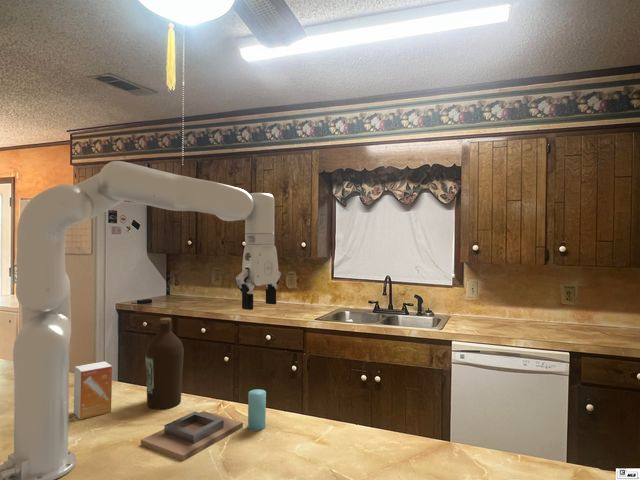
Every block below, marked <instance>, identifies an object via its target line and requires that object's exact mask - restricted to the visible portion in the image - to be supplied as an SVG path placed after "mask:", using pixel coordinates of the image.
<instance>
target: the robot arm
mask: <svg viewBox="0 0 640 480" xmlns="http://www.w3.org/2000/svg"><path fill="white" fill-rule="evenodd" d="M125 201H126V202H130V203H135V204H141V205H145V206H150V207H154V208H159V209H163V210H166V211H167V210H169V211H174V212H175V211H176V212H197V213H198V212H199V213H204V214H209V215H215V216H216V217H217V218H218V219H220V220H222V221H223V222H225V221H226V222H235V221H243V220H244V221H245V222H244V226H245V230H244V231H245V232H244V233H245V234H244V242H245V243H244V245H245V246H244V248H243V255H242V265H241V269H242V270H241V272H240V273H239V274H238V275H237V276H235V281H236V284H237V288H238V290H239V292H240V294H241V308H242V310H247V311H251V310H254V293H253V290H254V288H255V286H257V287H259V286H266V288H265V304H266V305H274V306H275V305H277V290H278V289H279V283H280V278H281V276H282V272H281V271H279V262H278V259H279V258H278V252H277V247H276V245H275V197H274V196H273V194H272V193H266V192H252V193H249V192H248V191H246V190H245V189H242V188H240V187H235V186H234V185H233V186H232V185H228V184H224V183H220V182H217V181H212V180H211V181H210V180H206V179H202V178H201V179H200V178H195V177H190V176H185V175H180V174H175V173H171V172H167V171H165V170H164V171H163V170H160V169H155V168H151V167H147V166H143V165H139V164H136V163H131V162H127V161H121V160H114V161H110V162H108V163H107V164H105V165H103V167H102V168H101V170H100V172H97V174H94V175H93V176H91V177H88V178H86V179H85V180H83V181H81V182H79V183H76V184H69V183H68V184H67V183H66V184H57V185H54V186H51V187H48V188H46V189H44V190H42V191H41V192H39V193H37V194H36V195H35V196H33V197H32V198H31V199H30V200H29V202H27V204H26V205H25V207H24V208H23V209H22V212H21V213H20V215H19V219H18V222H17V228H16V257H15V258H16V259H15V260H16V269H15V270H16V277H15V278H16V280H15V281H16V284H15V297H16V300H17V301H18V303H19V304H20V306H21V326H22V327H21V329H20V330H19V331H18V333H17V335H16V337H15V340H14V343H13V347H12V348H13V349H12V362H13V363H12V364H13V373H14V374H13V376H14V377H13V379H14V383H13V385H14V388H13V389H14V392H13V393H14V399H13V400H14V404H13V405H14V406H13V407H14V408H13V409H14V412H13V414H14V415H13V416H14V418H13V420H14V421H13V425H14V426H13V453H10V454H8V455H7V460H6V461H3V462H2V464H0V480H57V479H58V478H61V477H63V476H65V475H66V474H67V473H69V472H70V471H71V470H73V469H74V467H75V466H76V464H77V456H76V454H75V452H74V453H73V451H69V407H70V404H69V399H70V389H69V388H70V386H69V385H70V382H69V381H70V379H69V378H70V346H71V344H70V343H71V336H72V308H71V305H72V302H71V299H72V298H71V281H70V278H69V275H68V274H67V271H66V234H67V232H68V229H69V228H70V227H77V226H80V225H82V224H84V223H87V221H90V220H92V219H94V218H96V217H97V216H100V215H101V214H103V213H105V212H107V211H109V210H111V209H112V208H114V207H117V206H118V205H119V204H122V203H123V202H125Z"/></svg>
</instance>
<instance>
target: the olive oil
mask: <svg viewBox="0 0 640 480" xmlns="http://www.w3.org/2000/svg"><path fill="white" fill-rule="evenodd" d="M158 330H159V331H158V333H156V335H155V336H154V337H152V338H151V340H150V341H149V342H148V344H147V346H146V349H145V356H144V358H145V372H146V373H145V376H146V379H145V380H146V406H147V407H148V408H150V409H152V410H167V409H170V408H174V407H176V406H178V405H180V404H181V402H182V387H183V386H182V385H183V384H182V383H183V369H184V355H185V354H184V353H185V350H184V345H183V342H182V341H181V339H180V338H179V337H177V335H176V334H175V333H173V331H172V318H171V317H160V318H159V323H158Z"/></svg>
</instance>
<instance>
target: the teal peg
mask: <svg viewBox="0 0 640 480" xmlns="http://www.w3.org/2000/svg"><path fill="white" fill-rule="evenodd" d="M247 396H248V401H247V403H248V405H247V408H248V409H247V411H248V412H247V429H248V430H250V431H252V432H254V431H255V432H258V431H259V432H260V431H262V430H264V429H265V428H266V419H267V418H266V417H267V415H266V414H267V413H266V410H267V409H266V406H267V405H266V404H267V399H266V398H267V392H266V390H264V389H259V388H258V389H257V388H256V389H252V390H250V391H248V394H247Z"/></svg>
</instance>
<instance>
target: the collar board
mask: <svg viewBox="0 0 640 480" xmlns="http://www.w3.org/2000/svg"><path fill="white" fill-rule="evenodd" d="M243 423H244V422H242V421H239V420H236V419H233V418H229V417H225V416H223V415H218V414H215V413H212V412H209V411H206V410H202V411H200V412H198V411H196V410H195V411H192V412H191V413H189V414H186V415H184V416H182V417H179V418H178V419H175V420H173V421H171V422H168V423H166V424H164V425H163V426H164V427H163V428H162V429H161V430H159V431H157V432H154V433H152V434H149V435H148V436H146V437H143V438H141V439H140V445H141V446H143V447H146V448H148V449H150V450H153V451H156V452H159V453H161V454H164V455H167V456H169V457H172V458H174V459H177V460H180V461H182V462H183V461H185V460H187V459H189V458H191V457H193V456H194V455H196V454H197V453H200V452H201V451H203V450H205V449H206V448H208V447H210V446H212V445H214V444H215V443H217V442H218V441H220V440H222V439H225V438H226V437H227V436H230V435H231V434H232V433H235V432H237V431H238V430H239V429H242V428H243V427H244V426H243V425H244V424H243Z"/></svg>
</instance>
